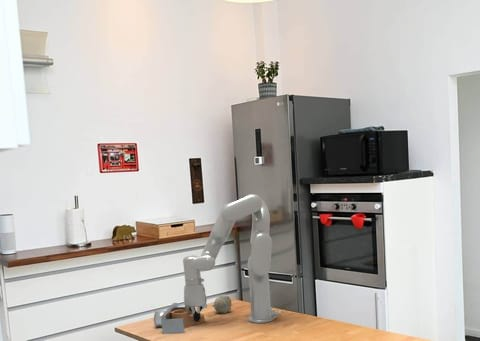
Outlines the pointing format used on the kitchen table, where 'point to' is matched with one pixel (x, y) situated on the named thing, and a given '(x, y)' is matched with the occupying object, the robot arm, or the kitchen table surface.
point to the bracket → (186, 317)
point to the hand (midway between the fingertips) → (197, 321)
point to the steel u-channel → (169, 320)
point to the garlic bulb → (222, 304)
